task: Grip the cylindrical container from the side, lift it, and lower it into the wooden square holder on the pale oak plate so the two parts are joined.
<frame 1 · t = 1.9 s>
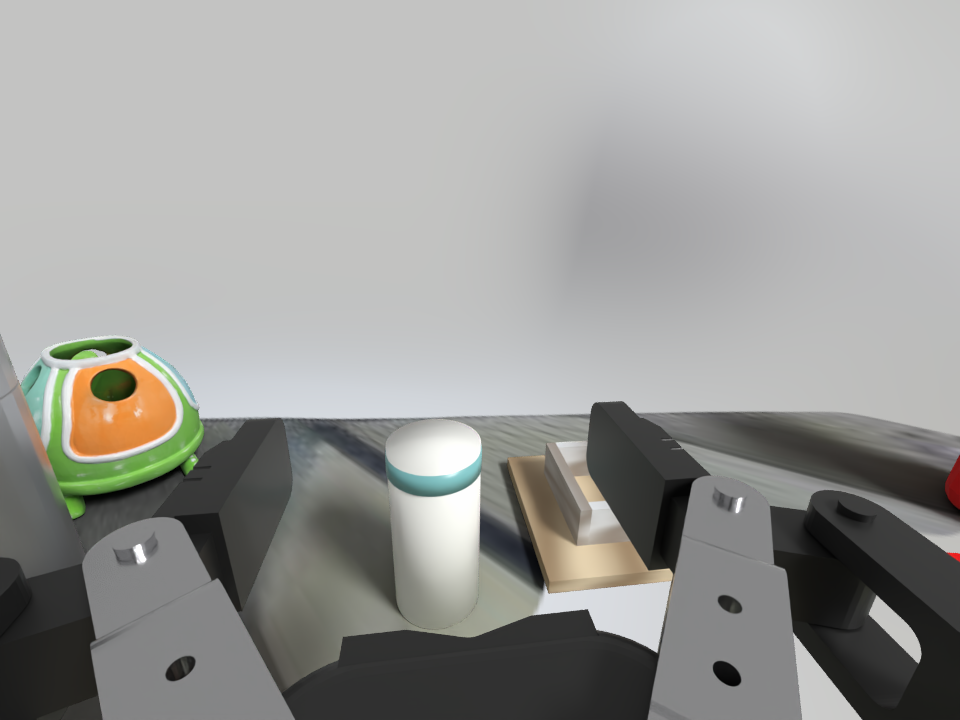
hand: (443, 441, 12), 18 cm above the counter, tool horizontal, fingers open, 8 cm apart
cylindrical container: (437, 591, 28), on the counter
wooden square holder: (609, 511, 36), on the counter
turtle holder: (123, 468, 40), on the counter
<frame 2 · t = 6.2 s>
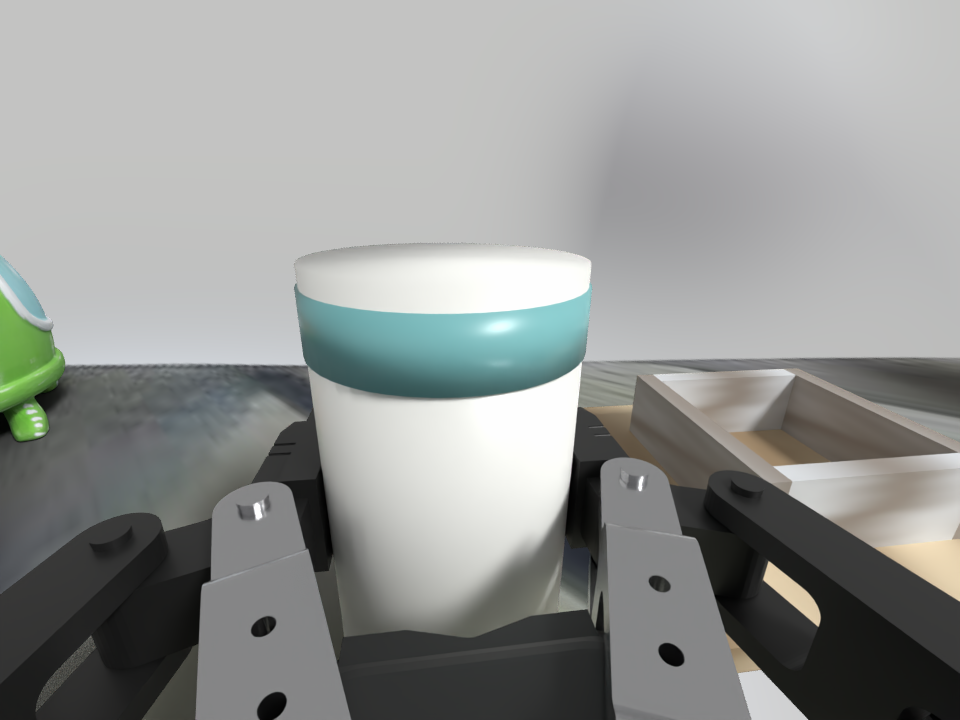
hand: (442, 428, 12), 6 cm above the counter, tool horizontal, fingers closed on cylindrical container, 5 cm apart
cylindrical container: (452, 671, 12), on the counter, touching gripper
wooden square holder: (763, 493, 19), on the counter
when the fingers open (9 cm above the counter, at t = 11.7 s): cylindrical container drops 2 cm, resting on wooden square holder.
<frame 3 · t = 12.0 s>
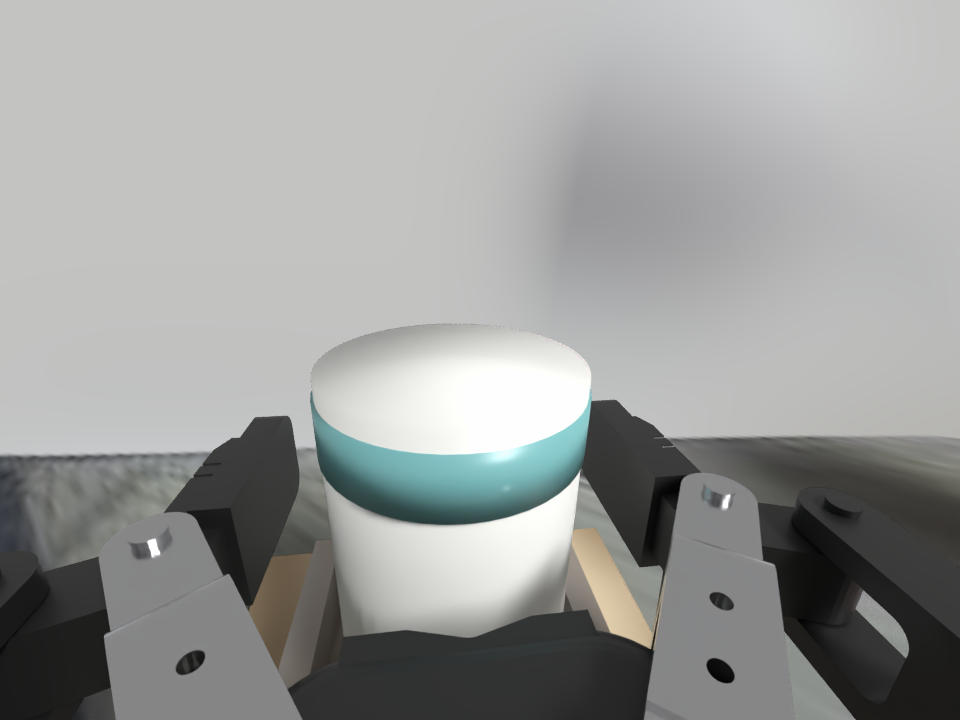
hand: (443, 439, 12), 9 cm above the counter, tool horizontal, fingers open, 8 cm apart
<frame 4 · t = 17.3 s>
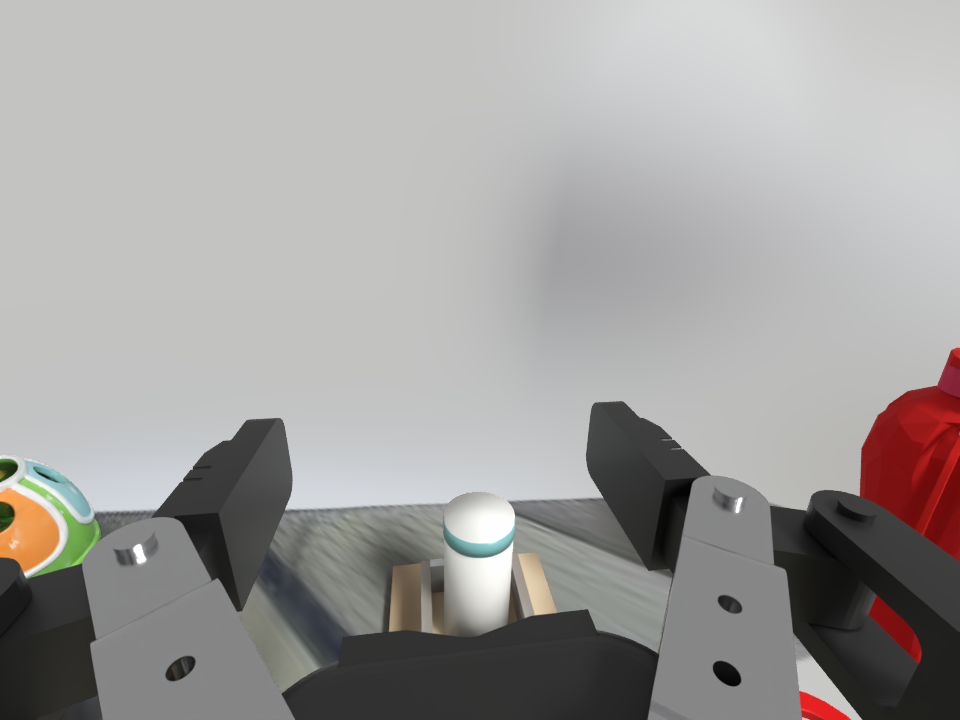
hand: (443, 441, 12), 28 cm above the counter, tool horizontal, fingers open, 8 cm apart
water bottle: (870, 645, 36), on the counter
cylindrical container: (475, 624, 36), point 1 cm above the counter, touching wooden square holder
wooden square holder: (475, 632, 37), on the counter
turtle holder: (18, 579, 42), on the counter
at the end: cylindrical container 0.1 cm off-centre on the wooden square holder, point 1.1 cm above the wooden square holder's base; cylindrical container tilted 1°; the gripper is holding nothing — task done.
